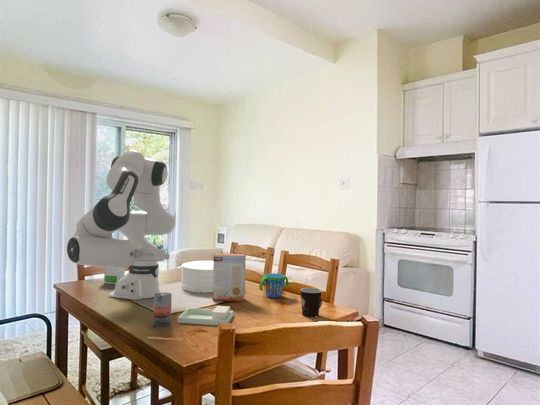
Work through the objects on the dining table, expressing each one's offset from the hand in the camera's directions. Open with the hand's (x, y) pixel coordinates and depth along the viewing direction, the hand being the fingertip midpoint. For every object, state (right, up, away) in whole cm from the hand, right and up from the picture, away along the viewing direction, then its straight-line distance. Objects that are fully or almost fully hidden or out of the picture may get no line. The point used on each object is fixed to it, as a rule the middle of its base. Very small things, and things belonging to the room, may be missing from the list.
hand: (159, 257), depth 127 cm
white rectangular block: (+20, -25, +9) cm, 33 cm away
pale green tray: (+15, -25, +9) cm, 31 cm away
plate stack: (+6, -26, +66) cm, 71 cm away
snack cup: (+40, -26, +48) cm, 68 cm away
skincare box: (-44, -24, +67) cm, 84 cm away
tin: (0, -25, +3) cm, 25 cm away
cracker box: (+19, -26, +40) cm, 51 cm away
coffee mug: (+55, -27, +19) cm, 64 cm away
